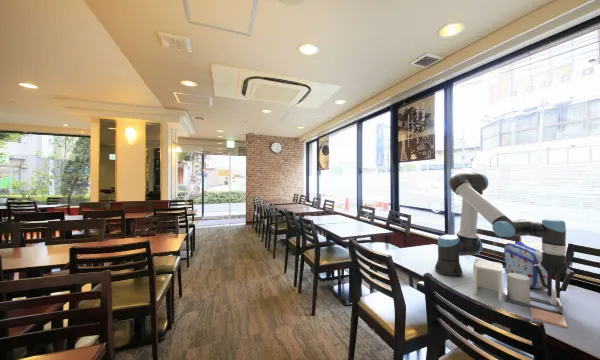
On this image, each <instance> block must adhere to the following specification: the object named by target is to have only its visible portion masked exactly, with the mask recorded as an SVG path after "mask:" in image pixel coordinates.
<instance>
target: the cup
mask: <svg viewBox="0 0 600 360" xmlns="http://www.w3.org/2000/svg"><path fill="white" fill-rule="evenodd" d="M506 274H507V273H506ZM506 277H507V278H506V284H507V285H506V287H507V295H508V299H511V300H515V301H519V302H523V303H527V304H531V301H530V300H531V299H530V297H531V296H530V295H531V294H530V293H531V290H530V278H529V277H527V276H525V275H521V274H517V273H508V274H507V275H506Z"/></svg>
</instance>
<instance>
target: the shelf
mask: <svg viewBox="0 0 600 360" xmlns="http://www.w3.org/2000/svg"><path fill="white" fill-rule="evenodd" d="M473 263H474V264H473V265H472V266H473V267H472V268H473V286H472V288H473V295H475V296H477V294H478V289H479V288H484V289H488V290H491V291H492V290H493V291H495V292H498V302H503V295H502V294H503V286H502V285H503V275H502V274H503V271H502V270H503V262H502V263H501V262H496V261H491V260H486V259H479V258H475V259H474V262H473Z"/></svg>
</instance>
